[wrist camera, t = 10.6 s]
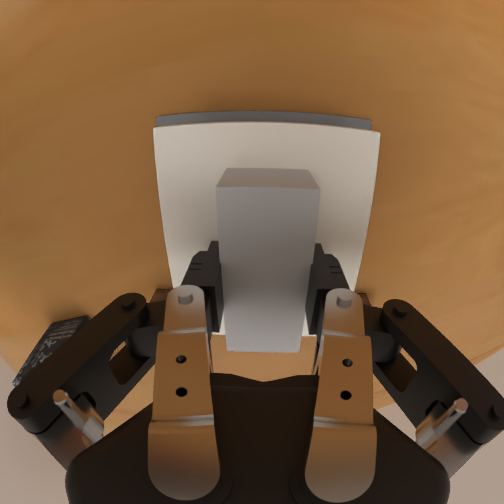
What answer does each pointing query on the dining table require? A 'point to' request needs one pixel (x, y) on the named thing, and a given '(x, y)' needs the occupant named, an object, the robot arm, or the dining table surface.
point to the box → (50, 344)
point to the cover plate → (270, 147)
